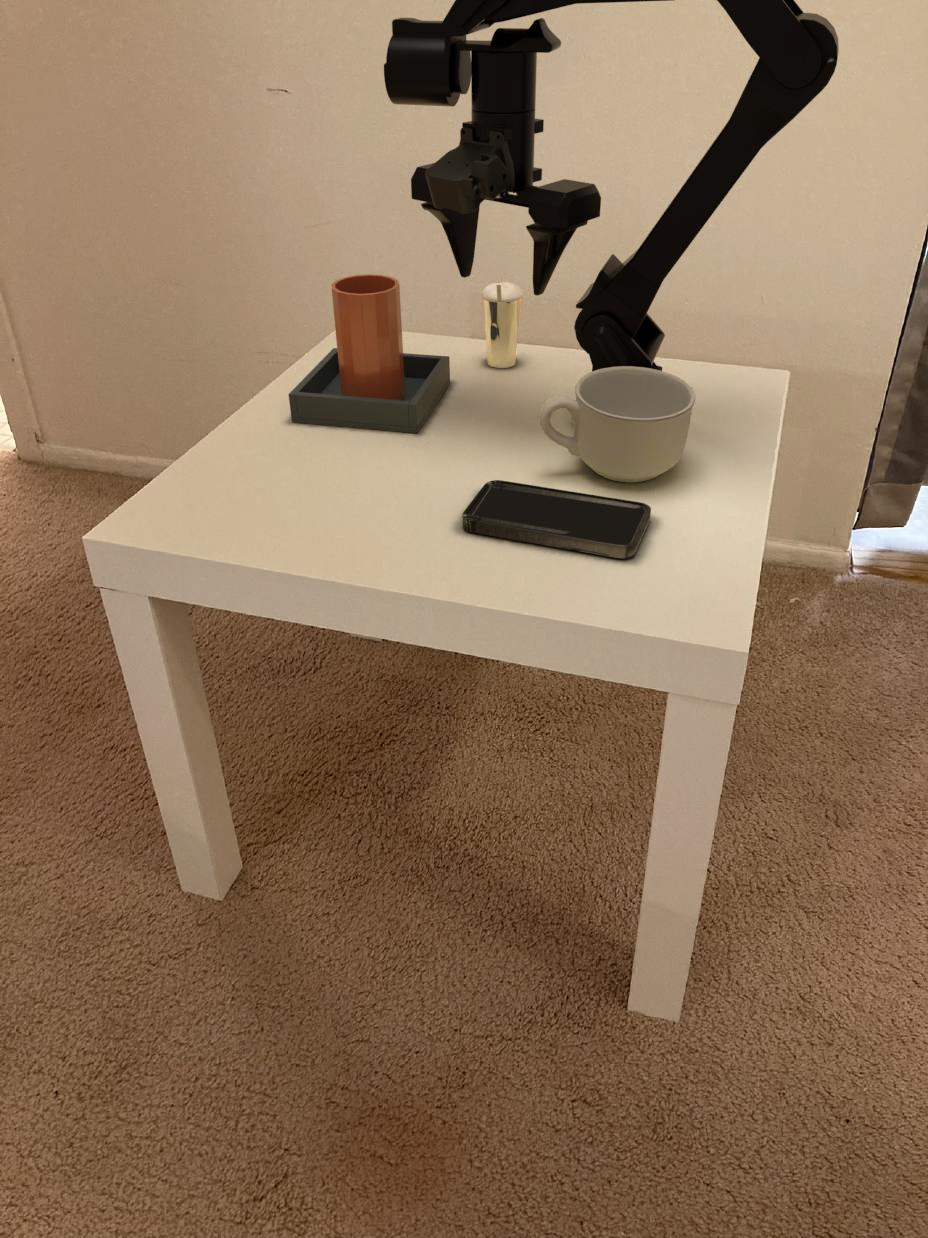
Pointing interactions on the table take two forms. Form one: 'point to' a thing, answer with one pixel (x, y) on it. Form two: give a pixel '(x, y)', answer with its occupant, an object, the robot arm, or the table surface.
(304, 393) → the tray
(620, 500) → the phone
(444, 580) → the table surface
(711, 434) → the table surface
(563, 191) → the robot arm
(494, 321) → the milkshake
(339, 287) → the cup
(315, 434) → the table surface
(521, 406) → the table surface
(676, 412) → the teacup
